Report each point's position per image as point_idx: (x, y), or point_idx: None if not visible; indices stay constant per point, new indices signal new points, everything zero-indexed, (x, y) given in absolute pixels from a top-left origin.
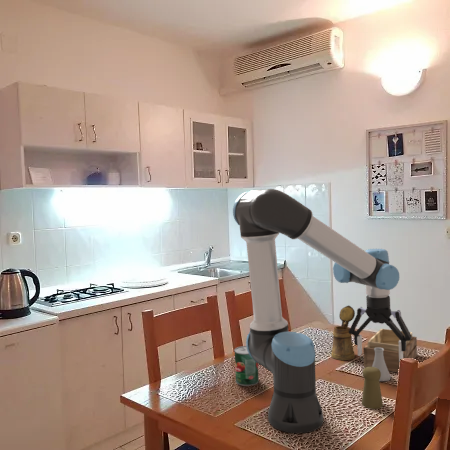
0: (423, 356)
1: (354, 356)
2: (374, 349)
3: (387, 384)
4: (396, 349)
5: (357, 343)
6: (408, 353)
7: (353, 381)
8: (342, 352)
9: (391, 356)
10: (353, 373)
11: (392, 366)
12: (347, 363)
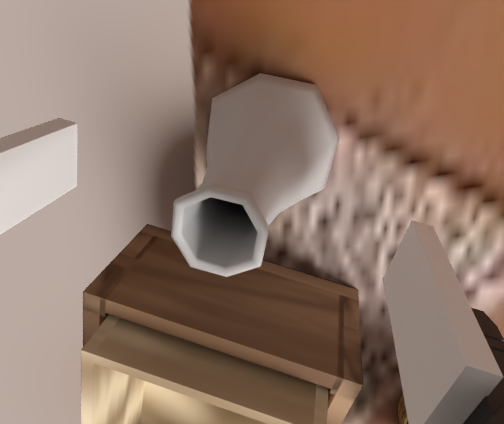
0: None
1: (401, 402)
2: (262, 221)
3: (220, 40)
4: (130, 339)
5: (466, 304)
6: None
7: (455, 35)
8: None
9: (177, 296)
10: (435, 186)
11: None
12: None
